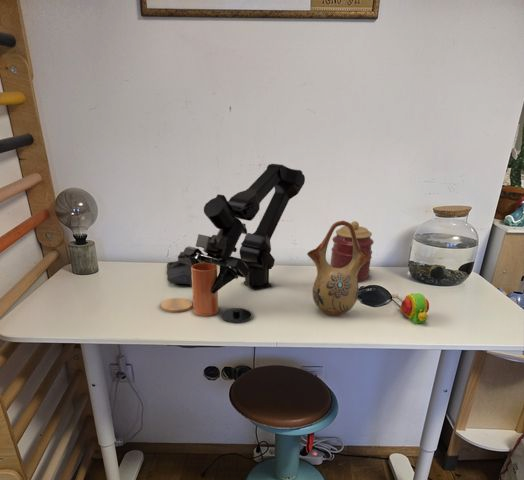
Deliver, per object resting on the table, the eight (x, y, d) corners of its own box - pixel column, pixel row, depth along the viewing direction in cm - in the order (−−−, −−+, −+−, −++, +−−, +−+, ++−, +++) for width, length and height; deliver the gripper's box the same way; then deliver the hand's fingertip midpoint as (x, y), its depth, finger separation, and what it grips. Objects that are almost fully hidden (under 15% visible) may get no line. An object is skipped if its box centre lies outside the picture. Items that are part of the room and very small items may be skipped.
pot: (201, 304, 130) (199, 261, 124) (222, 308, 128) (221, 264, 122) (189, 313, 125) (186, 268, 118) (211, 318, 122) (209, 272, 116)
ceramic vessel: (302, 318, 123) (309, 223, 111) (303, 305, 131) (309, 215, 119) (365, 322, 122) (379, 226, 110) (361, 308, 130) (374, 217, 118)
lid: (241, 308, 128) (241, 302, 128) (257, 319, 123) (257, 312, 122) (215, 314, 125) (215, 307, 124) (230, 325, 119) (230, 319, 118)
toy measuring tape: (411, 327, 120) (416, 303, 117) (382, 298, 137) (386, 276, 134) (434, 326, 121) (439, 302, 118) (403, 297, 138) (407, 276, 135)
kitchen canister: (375, 281, 150) (383, 225, 141) (337, 283, 147) (343, 227, 138) (359, 268, 161) (365, 216, 152) (323, 270, 158) (328, 217, 149)
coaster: (184, 298, 134) (184, 296, 133) (197, 308, 128) (196, 306, 127) (156, 303, 130) (156, 301, 129) (168, 314, 124) (167, 312, 123)
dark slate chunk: (160, 287, 140) (158, 272, 138) (168, 264, 159) (167, 250, 157) (211, 287, 141) (211, 272, 139) (213, 264, 160) (213, 250, 158)
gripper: (185, 215, 122) (158, 267, 120) (242, 227, 113) (215, 283, 111) (205, 239, 132) (181, 287, 129) (260, 251, 123) (235, 303, 120)
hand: (201, 289), depth 122 cm, fingers closed on pot, 7 cm apart
